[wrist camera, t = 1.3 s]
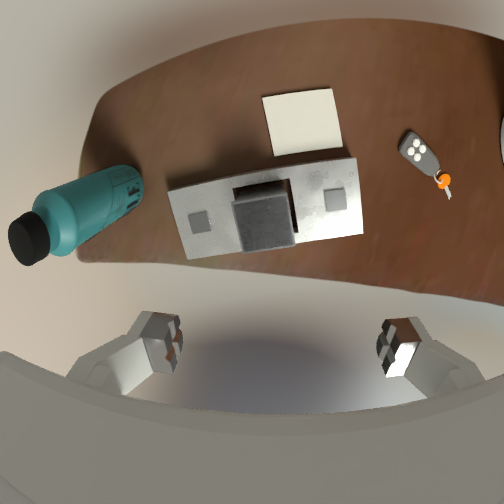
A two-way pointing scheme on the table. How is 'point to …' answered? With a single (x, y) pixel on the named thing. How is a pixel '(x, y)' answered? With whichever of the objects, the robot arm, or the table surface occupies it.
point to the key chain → (423, 159)
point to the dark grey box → (263, 218)
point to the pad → (302, 121)
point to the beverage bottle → (74, 213)
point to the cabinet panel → (304, 196)
